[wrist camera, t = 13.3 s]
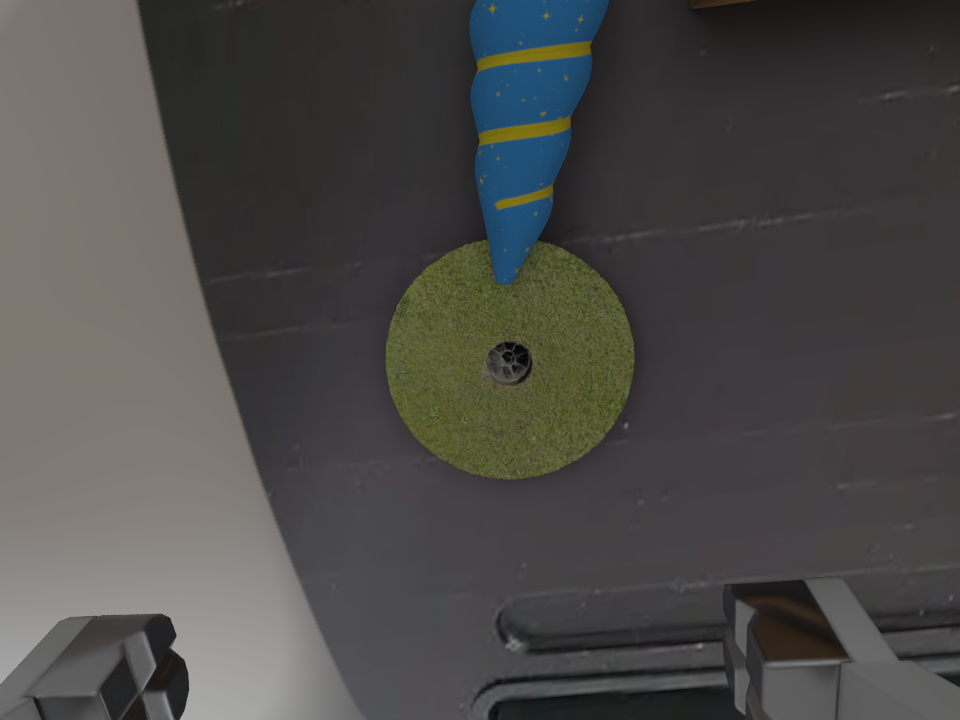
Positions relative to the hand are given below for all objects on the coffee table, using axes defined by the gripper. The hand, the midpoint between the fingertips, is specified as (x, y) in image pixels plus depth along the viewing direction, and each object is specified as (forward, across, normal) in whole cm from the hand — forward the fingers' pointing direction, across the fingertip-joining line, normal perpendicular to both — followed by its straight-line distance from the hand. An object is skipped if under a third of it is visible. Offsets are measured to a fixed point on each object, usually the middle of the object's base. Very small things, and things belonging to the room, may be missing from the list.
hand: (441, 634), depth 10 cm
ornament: (+21, 0, 0) cm, 21 cm away
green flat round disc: (+24, 0, +4) cm, 24 cm away
